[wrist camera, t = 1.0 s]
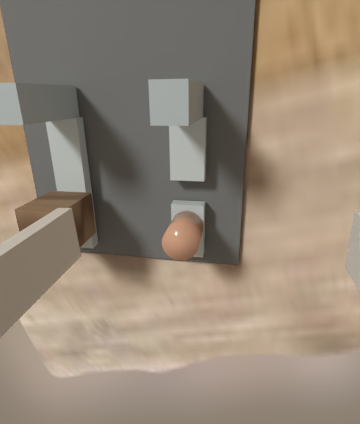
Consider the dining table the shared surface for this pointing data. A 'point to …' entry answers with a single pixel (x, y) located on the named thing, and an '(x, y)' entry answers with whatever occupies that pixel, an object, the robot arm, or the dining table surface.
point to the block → (61, 199)
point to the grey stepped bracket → (53, 130)
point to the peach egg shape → (183, 236)
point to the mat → (142, 108)
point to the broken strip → (182, 136)
